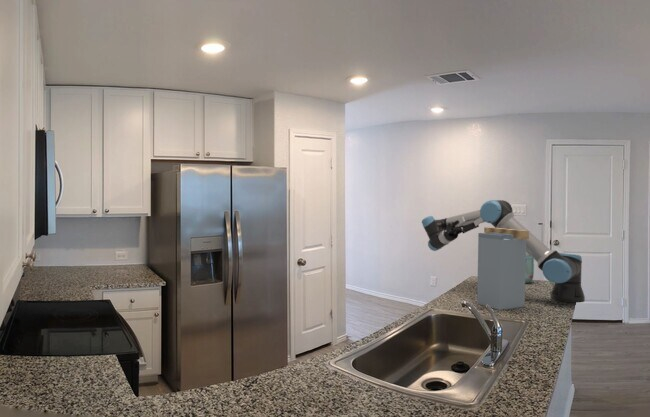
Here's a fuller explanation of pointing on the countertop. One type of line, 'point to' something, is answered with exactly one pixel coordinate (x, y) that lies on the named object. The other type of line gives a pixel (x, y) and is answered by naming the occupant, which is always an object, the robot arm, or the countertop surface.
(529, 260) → the lunch box
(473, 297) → the countertop surface
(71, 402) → the countertop surface
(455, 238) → the robot arm
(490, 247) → the stand
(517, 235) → the oak block
